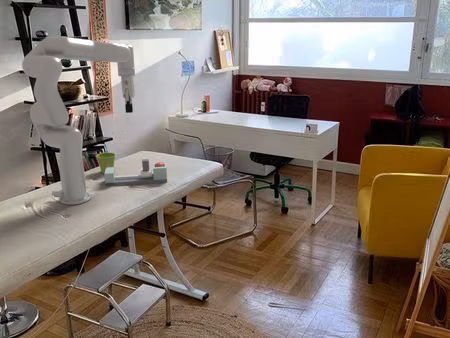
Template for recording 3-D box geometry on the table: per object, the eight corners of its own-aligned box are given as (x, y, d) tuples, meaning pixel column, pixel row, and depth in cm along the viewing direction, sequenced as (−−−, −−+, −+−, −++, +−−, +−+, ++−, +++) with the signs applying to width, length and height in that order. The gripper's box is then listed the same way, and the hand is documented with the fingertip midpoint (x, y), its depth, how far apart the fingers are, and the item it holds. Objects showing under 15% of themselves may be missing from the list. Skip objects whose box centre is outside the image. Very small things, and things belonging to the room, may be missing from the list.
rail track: (105, 186, 203) (104, 171, 201) (107, 179, 212) (106, 165, 210) (167, 182, 207) (166, 167, 205) (166, 175, 216) (165, 162, 214)
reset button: (156, 170, 208) (155, 164, 207) (156, 168, 211) (155, 162, 210) (163, 170, 208) (163, 164, 207) (163, 168, 212) (163, 162, 211)
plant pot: (119, 168, 227) (118, 152, 225) (113, 174, 219) (112, 157, 216) (102, 168, 228) (100, 152, 226) (95, 174, 219) (93, 157, 217)
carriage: (140, 176, 206) (139, 162, 204) (141, 172, 212) (140, 158, 210) (151, 176, 207) (150, 161, 205) (151, 172, 213) (150, 158, 210)
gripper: (133, 74, 197) (136, 115, 202) (135, 70, 211) (138, 109, 216) (116, 74, 196) (119, 115, 201) (119, 71, 210) (122, 109, 215)
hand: (129, 112), depth 209 cm, fingers closed
